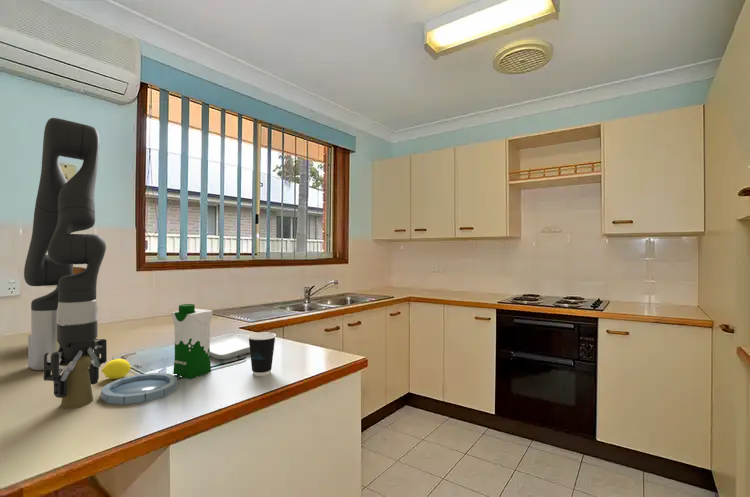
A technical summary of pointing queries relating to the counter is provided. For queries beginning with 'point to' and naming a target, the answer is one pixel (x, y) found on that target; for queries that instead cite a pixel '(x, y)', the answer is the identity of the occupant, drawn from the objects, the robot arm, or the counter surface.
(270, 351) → the dixie cup
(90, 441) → the counter surface
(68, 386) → the tan pawn shape
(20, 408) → the counter surface
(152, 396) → the round dish
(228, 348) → the salad plate
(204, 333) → the milk carton
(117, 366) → the lemon
